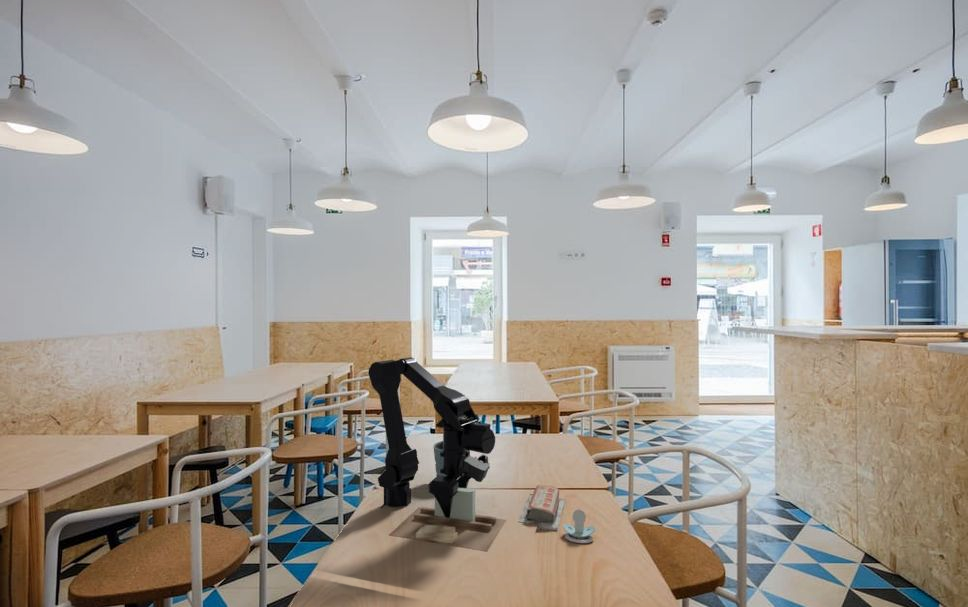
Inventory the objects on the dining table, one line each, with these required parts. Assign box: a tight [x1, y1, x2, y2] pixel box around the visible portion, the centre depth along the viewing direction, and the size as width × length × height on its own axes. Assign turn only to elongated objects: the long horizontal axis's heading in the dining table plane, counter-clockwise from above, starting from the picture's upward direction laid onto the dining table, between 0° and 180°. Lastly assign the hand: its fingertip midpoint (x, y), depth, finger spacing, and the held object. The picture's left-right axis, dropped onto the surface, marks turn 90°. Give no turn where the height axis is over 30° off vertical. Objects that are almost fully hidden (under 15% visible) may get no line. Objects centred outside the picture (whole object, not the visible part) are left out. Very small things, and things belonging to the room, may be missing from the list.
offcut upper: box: [422, 525, 455, 537], centre depth 112 cm, size 7×3×1 cm, turn 82°
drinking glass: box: [432, 440, 447, 477], centre depth 147 cm, size 10×10×12 cm
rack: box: [388, 506, 507, 552], centre depth 117 cm, size 24×16×2 cm, turn 72°
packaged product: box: [517, 484, 566, 531], centre depth 128 cm, size 18×5×10 cm
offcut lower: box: [416, 527, 458, 544], centre depth 112 cm, size 9×4×1 cm, turn 72°
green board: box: [434, 488, 476, 522], centre depth 121 cm, size 10×2×8 cm, turn 72°
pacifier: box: [563, 508, 596, 544], centre depth 114 cm, size 7×6×6 cm
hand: (454, 509), depth 121 cm, fingers open, 9 cm apart
